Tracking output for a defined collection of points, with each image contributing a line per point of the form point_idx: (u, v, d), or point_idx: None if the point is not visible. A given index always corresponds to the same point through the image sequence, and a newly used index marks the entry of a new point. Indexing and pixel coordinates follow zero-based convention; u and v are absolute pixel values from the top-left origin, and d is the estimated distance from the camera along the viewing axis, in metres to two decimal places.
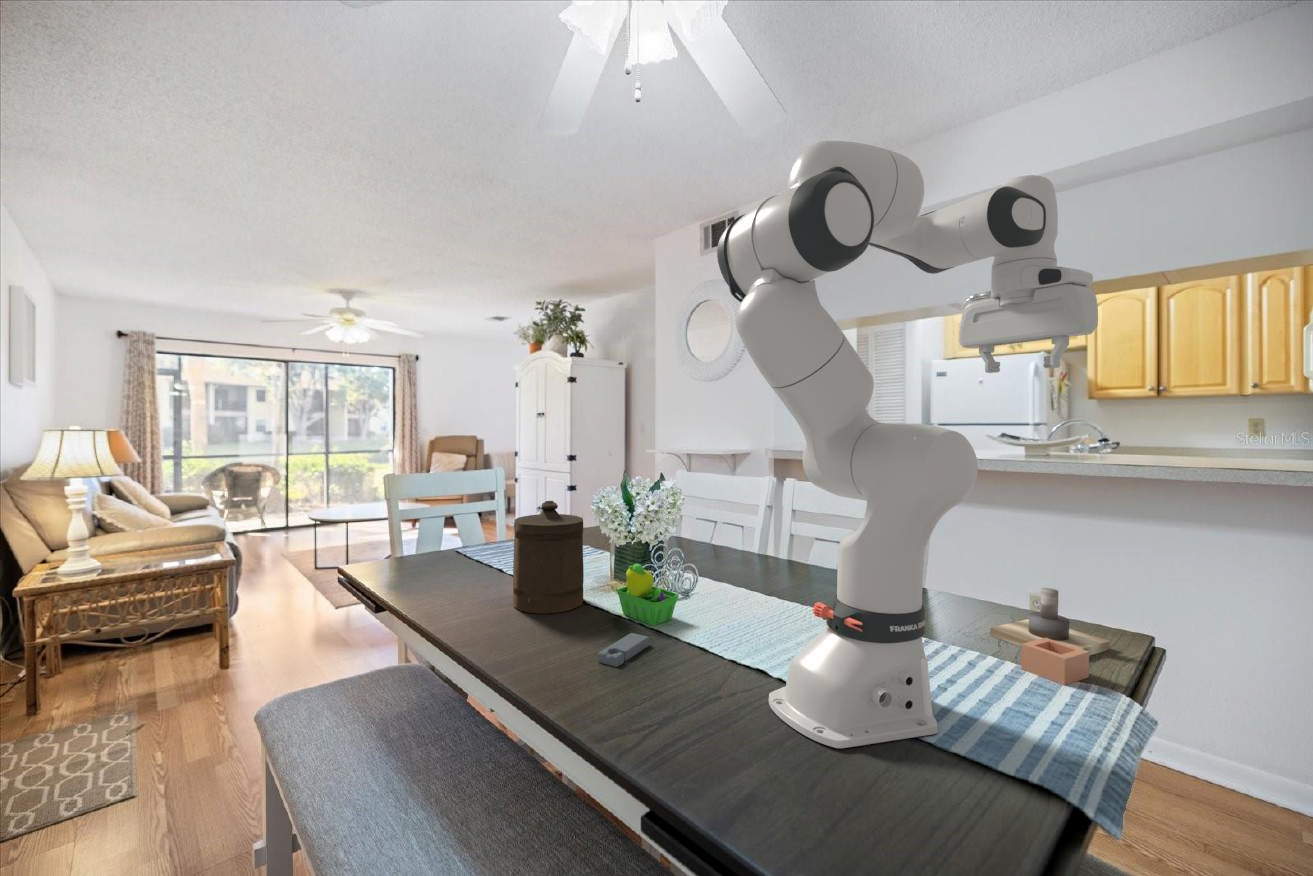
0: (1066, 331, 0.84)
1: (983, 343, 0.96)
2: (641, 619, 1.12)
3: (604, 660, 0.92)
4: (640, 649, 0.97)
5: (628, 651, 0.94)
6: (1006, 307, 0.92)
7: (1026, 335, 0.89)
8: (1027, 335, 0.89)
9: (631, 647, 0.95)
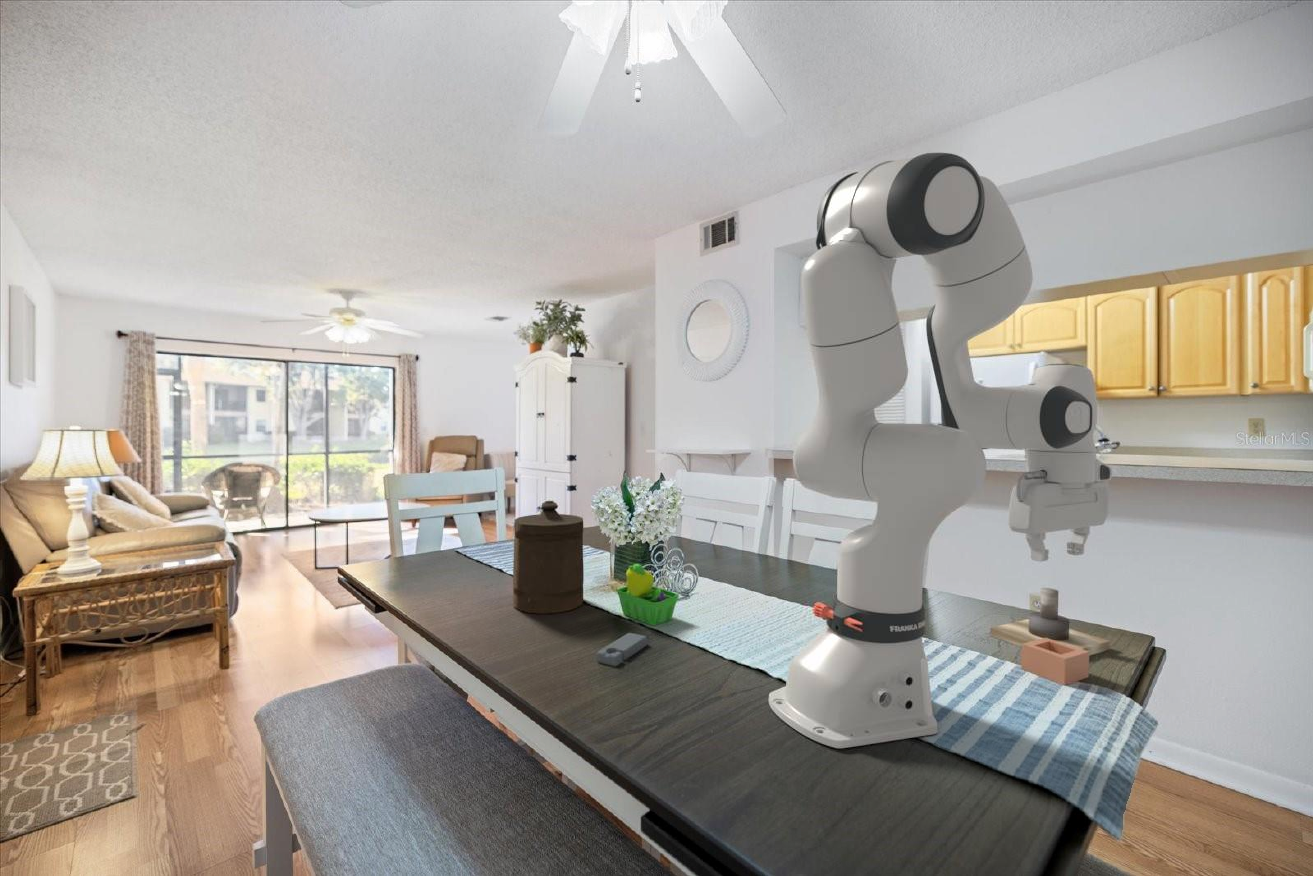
0: (1098, 523, 0.91)
1: (1049, 531, 0.85)
2: (641, 619, 1.12)
3: (603, 659, 0.92)
4: (638, 648, 0.97)
5: (626, 650, 0.94)
6: (1065, 494, 0.87)
7: (1077, 525, 0.88)
8: (1078, 525, 0.88)
9: (629, 646, 0.95)
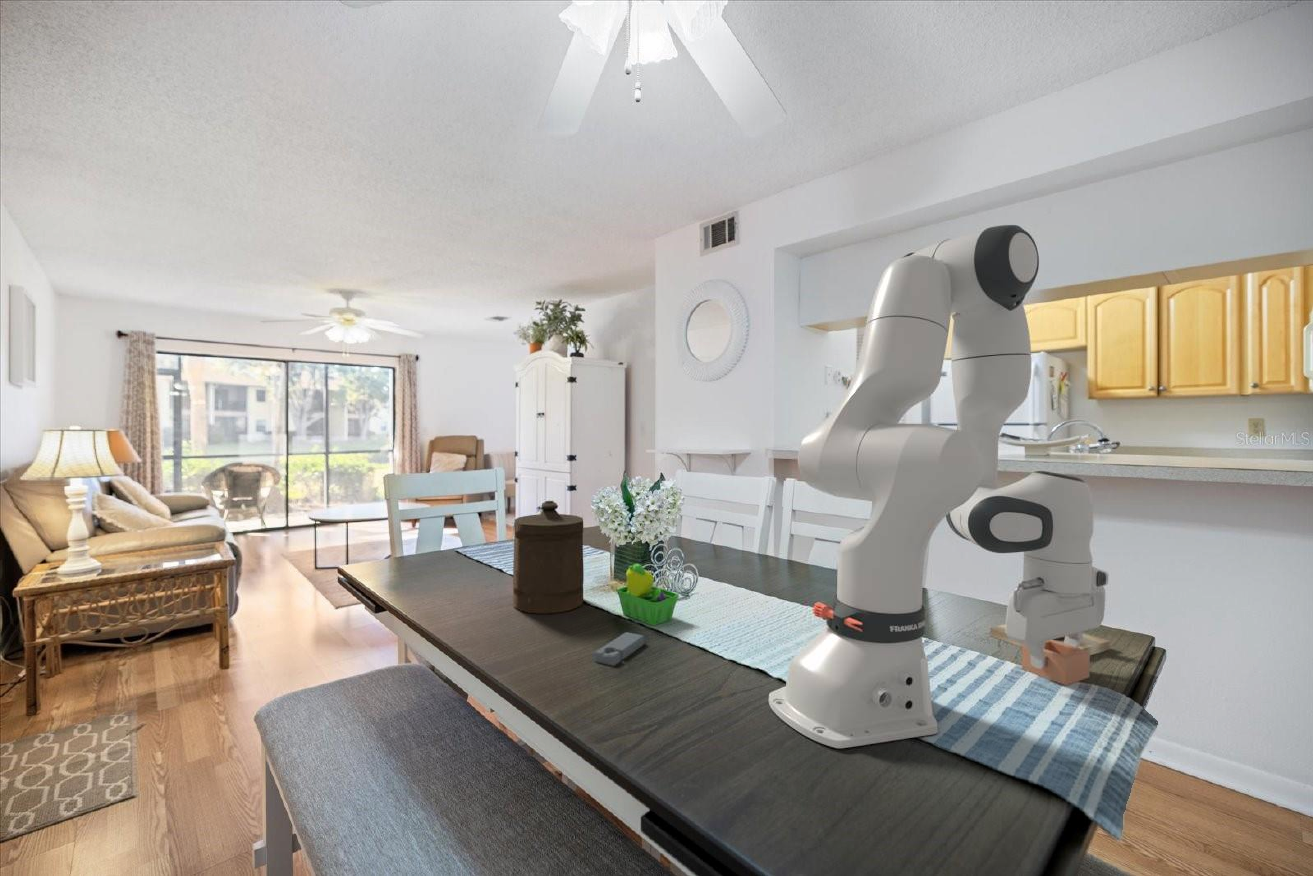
0: (1094, 627, 0.91)
1: (1045, 640, 0.86)
2: (641, 619, 1.12)
3: (601, 659, 0.92)
4: (636, 648, 0.97)
5: (624, 650, 0.94)
6: (1061, 602, 0.87)
7: (1074, 631, 0.89)
8: (1074, 631, 0.89)
9: (627, 646, 0.95)
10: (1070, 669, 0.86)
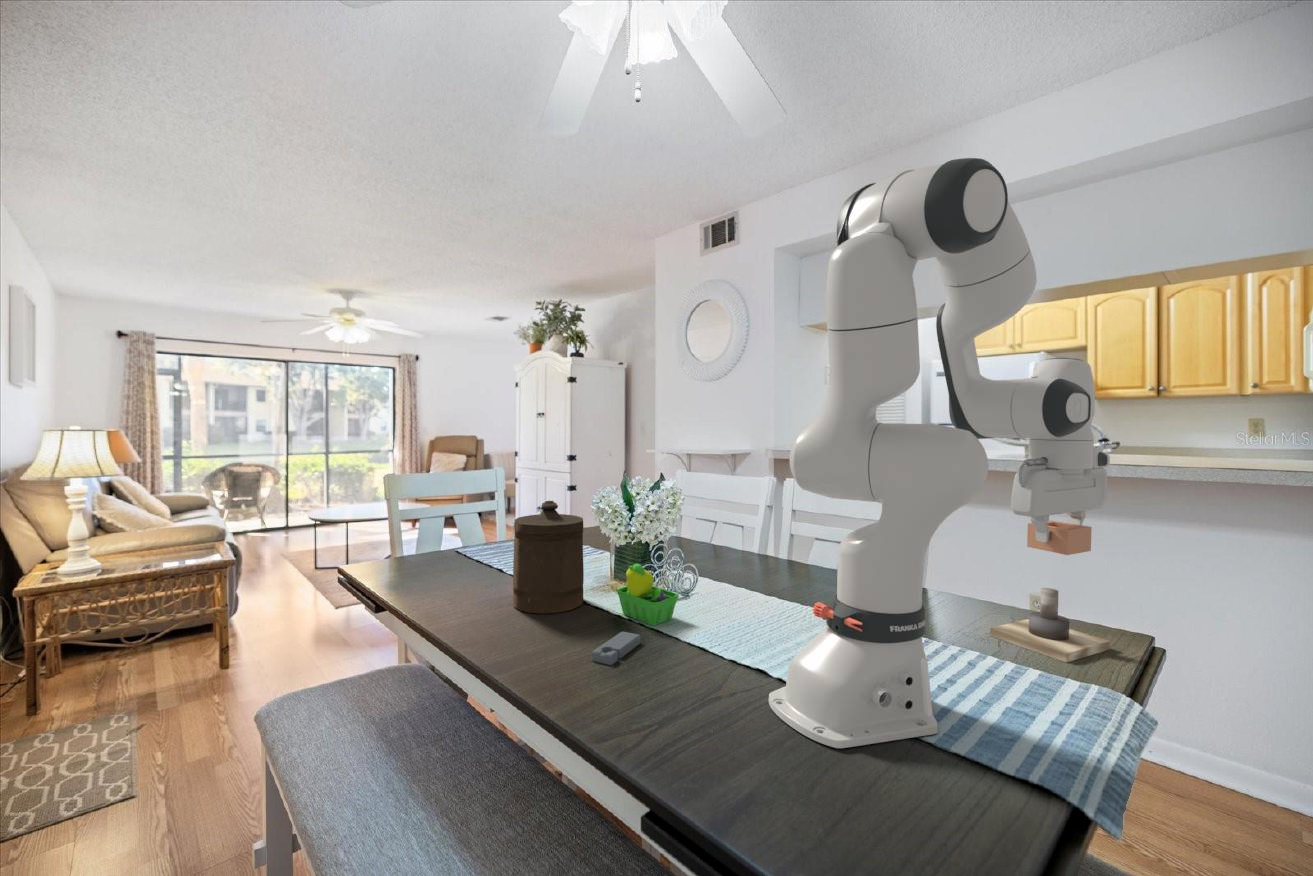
0: (1096, 507, 0.97)
1: (1049, 514, 0.92)
2: (641, 619, 1.12)
3: (598, 659, 0.92)
4: (632, 647, 0.98)
5: (621, 649, 0.94)
6: (1065, 480, 0.93)
7: (1077, 508, 0.95)
8: (1077, 508, 0.95)
9: (624, 645, 0.96)
10: (1072, 540, 0.92)
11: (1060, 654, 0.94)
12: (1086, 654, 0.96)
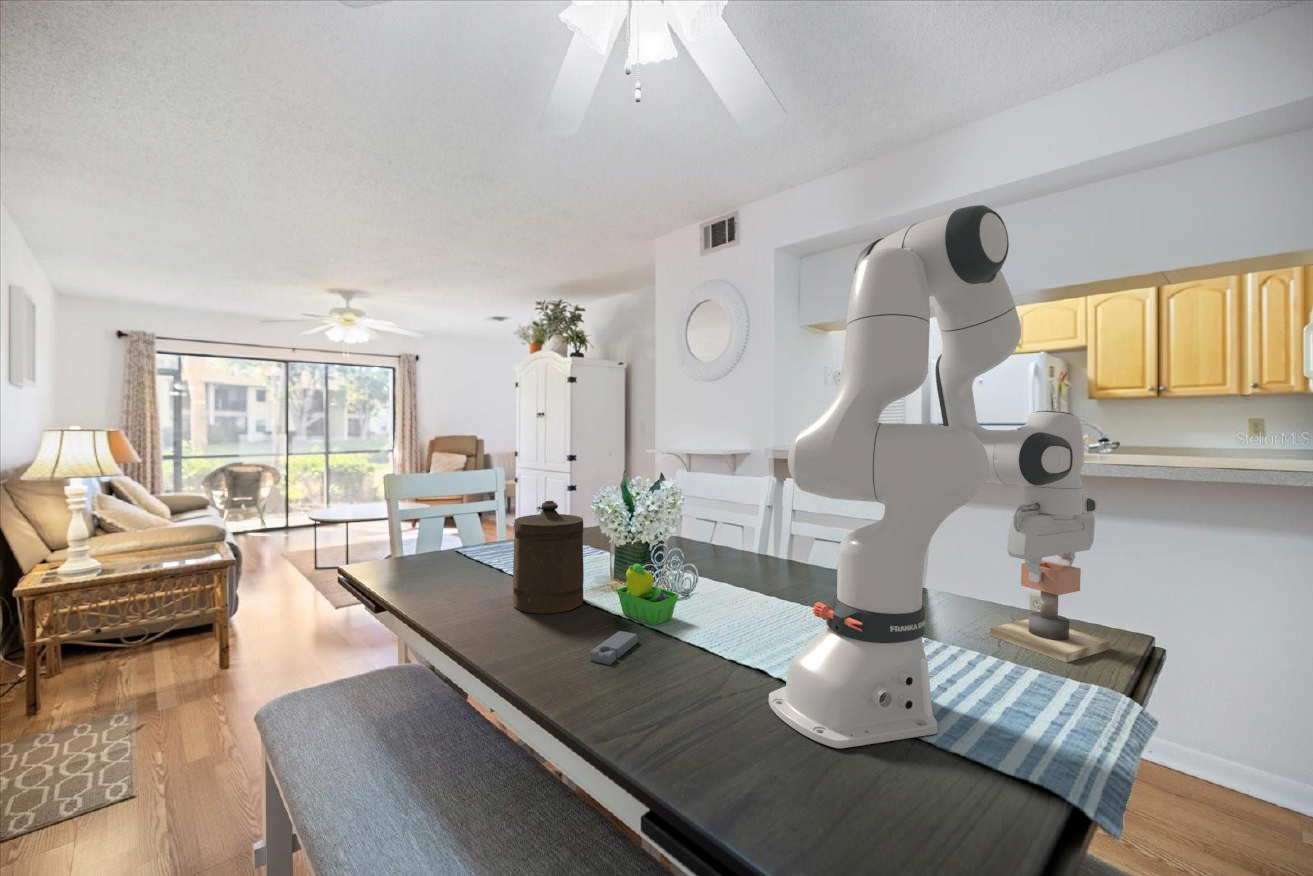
0: (1085, 549, 1.04)
1: (1042, 556, 0.98)
2: (641, 619, 1.12)
3: (596, 658, 0.92)
4: (630, 646, 0.98)
5: (619, 649, 0.95)
6: (1056, 524, 1.00)
7: (1067, 551, 1.01)
8: (1067, 551, 1.01)
9: (622, 645, 0.96)
10: (1063, 581, 0.98)
11: (1060, 654, 0.94)
12: (1086, 654, 0.96)
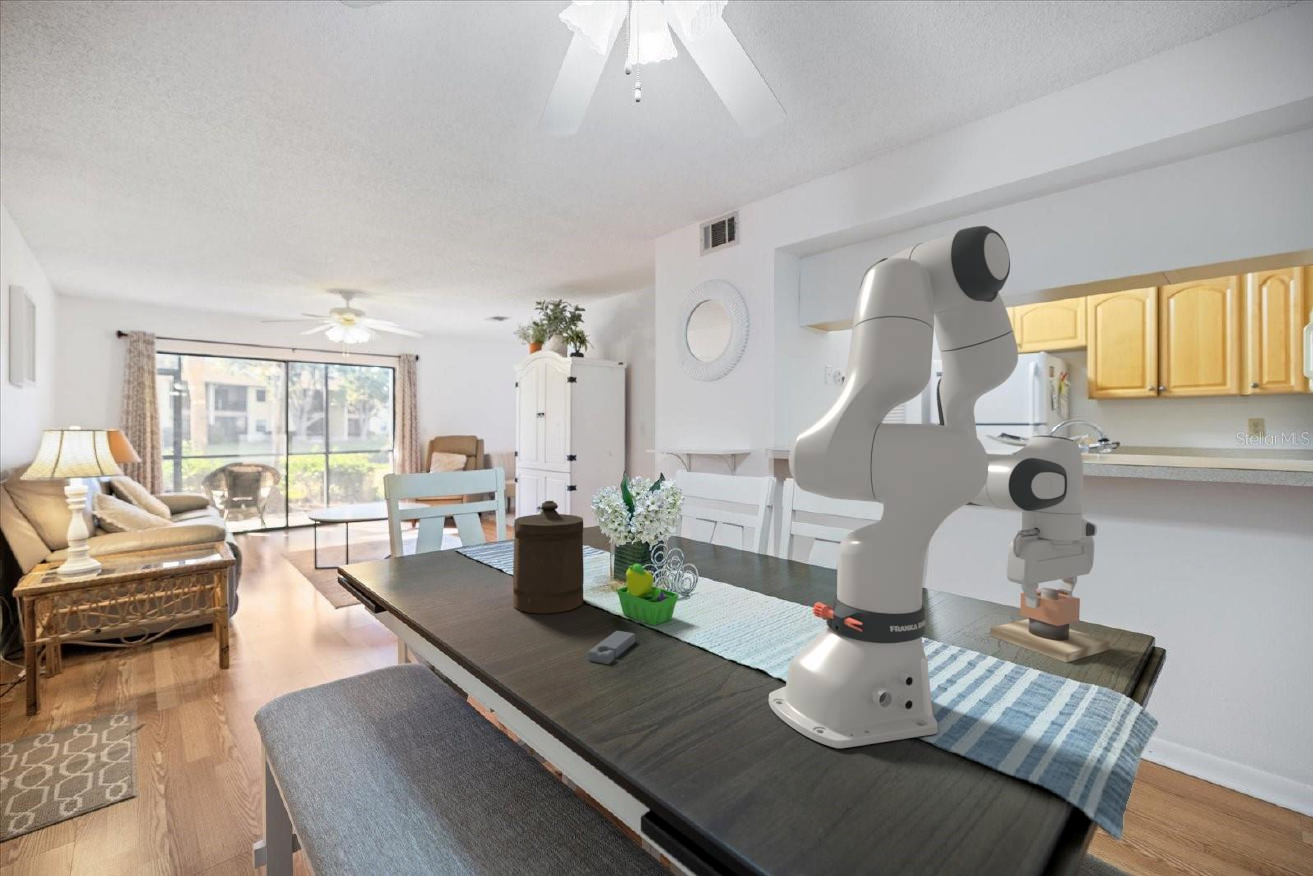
0: (1085, 573, 1.04)
1: (1041, 582, 0.98)
2: (641, 619, 1.12)
3: (595, 658, 0.92)
4: (628, 646, 0.98)
5: (617, 648, 0.95)
6: (1055, 549, 1.00)
7: (1066, 575, 1.01)
8: (1067, 575, 1.01)
9: (620, 644, 0.96)
10: (1062, 612, 0.98)
11: (1060, 654, 0.94)
12: (1086, 654, 0.96)
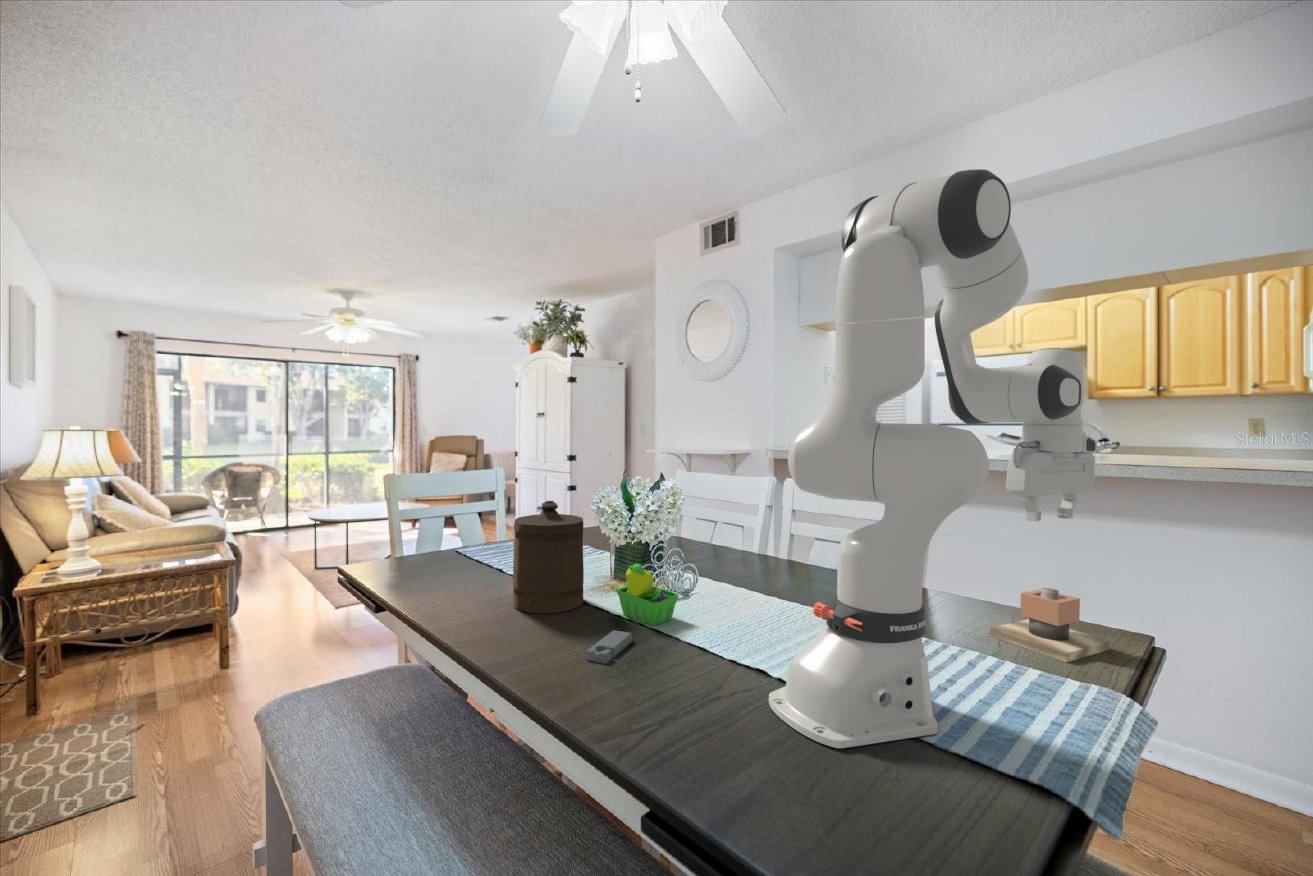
0: (1085, 491, 1.03)
1: (1042, 494, 0.97)
2: (641, 619, 1.12)
3: (593, 658, 0.93)
4: (625, 645, 0.98)
5: (615, 647, 0.95)
6: (1056, 462, 0.99)
7: (1067, 491, 1.00)
8: (1067, 491, 1.00)
9: (617, 643, 0.96)
10: (1062, 612, 0.98)
11: (1060, 654, 0.94)
12: (1086, 654, 0.96)
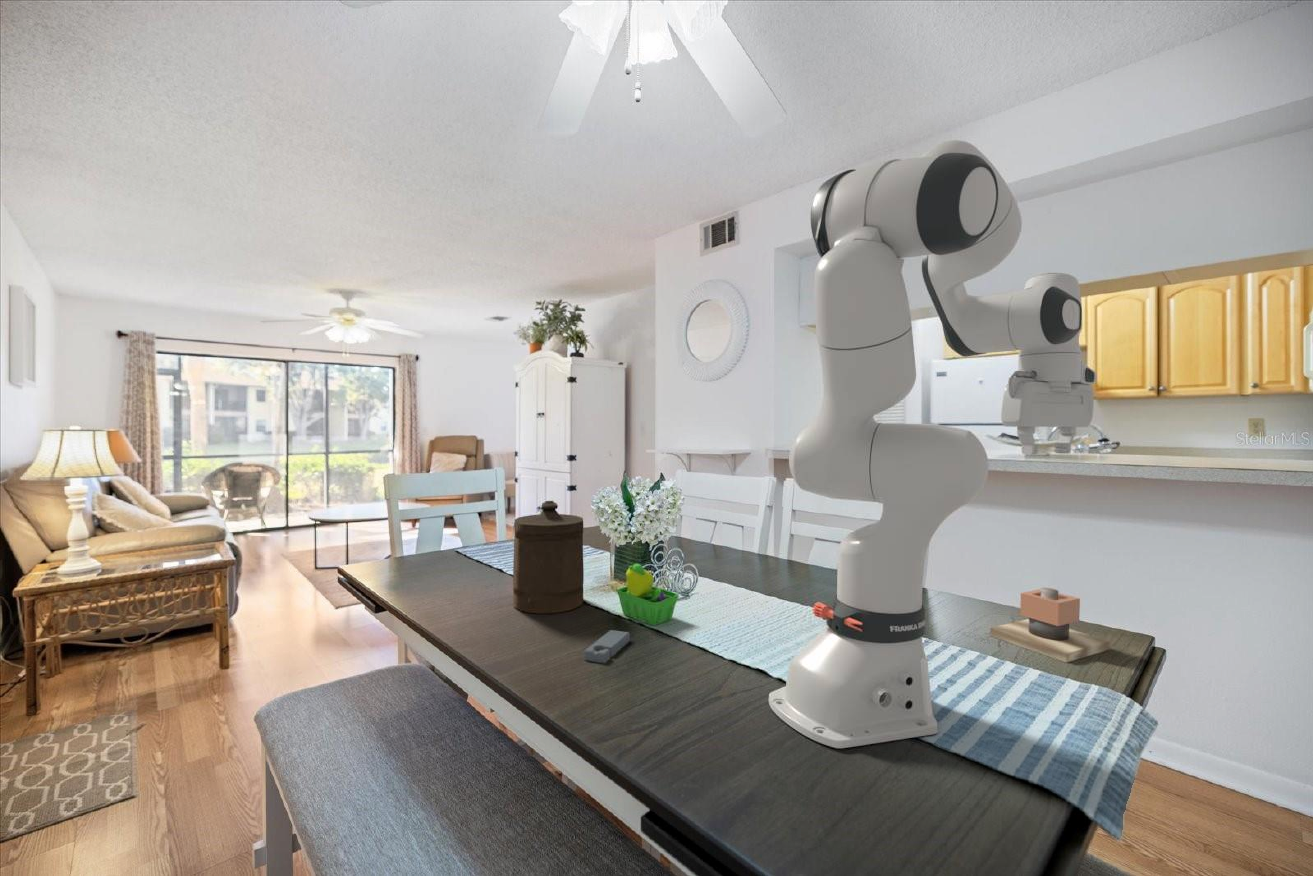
0: (1084, 425, 0.99)
1: (1038, 425, 0.93)
2: (640, 619, 1.12)
3: (591, 657, 0.93)
4: (623, 645, 0.99)
5: (613, 647, 0.95)
6: (1053, 393, 0.95)
7: (1064, 423, 0.96)
8: (1065, 423, 0.96)
9: (615, 643, 0.96)
10: (1062, 612, 0.98)
11: (1060, 654, 0.94)
12: (1086, 654, 0.96)
